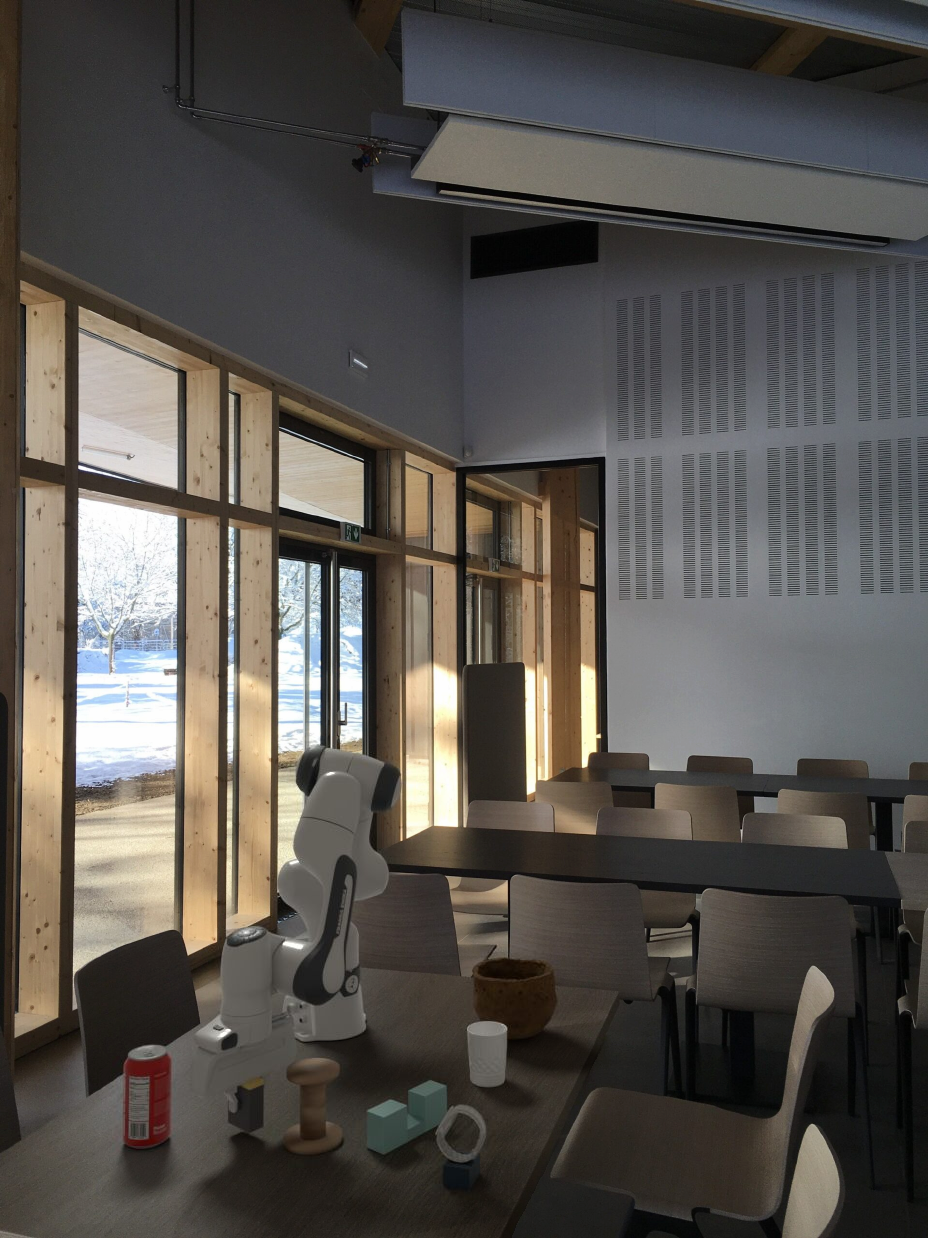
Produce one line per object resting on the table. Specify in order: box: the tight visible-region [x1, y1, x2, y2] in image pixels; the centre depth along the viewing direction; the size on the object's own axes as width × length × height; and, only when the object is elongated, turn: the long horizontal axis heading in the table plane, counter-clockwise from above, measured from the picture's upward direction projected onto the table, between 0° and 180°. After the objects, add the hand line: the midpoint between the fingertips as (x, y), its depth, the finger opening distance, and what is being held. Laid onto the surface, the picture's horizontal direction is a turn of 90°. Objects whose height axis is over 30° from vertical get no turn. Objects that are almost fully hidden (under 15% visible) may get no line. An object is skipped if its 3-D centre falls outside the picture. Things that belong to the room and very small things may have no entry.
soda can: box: [122, 1044, 173, 1150], centre depth 166 cm, size 8×8×15 cm
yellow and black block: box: [227, 1078, 265, 1134], centre depth 168 cm, size 6×3×8 cm, turn 50°
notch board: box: [366, 1079, 448, 1155], centre depth 168 cm, size 4×16×6 cm, turn 140°
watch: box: [434, 1103, 487, 1191], centre depth 153 cm, size 6×8×11 cm
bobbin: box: [282, 1057, 343, 1156], centre depth 166 cm, size 10×10×12 cm
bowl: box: [471, 956, 559, 1040], centre depth 214 cm, size 19×19×15 cm
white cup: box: [466, 1021, 508, 1088], centre depth 190 cm, size 8×8×10 cm
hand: (245, 1106), depth 168 cm, fingers closed on yellow and black block, 3 cm apart
